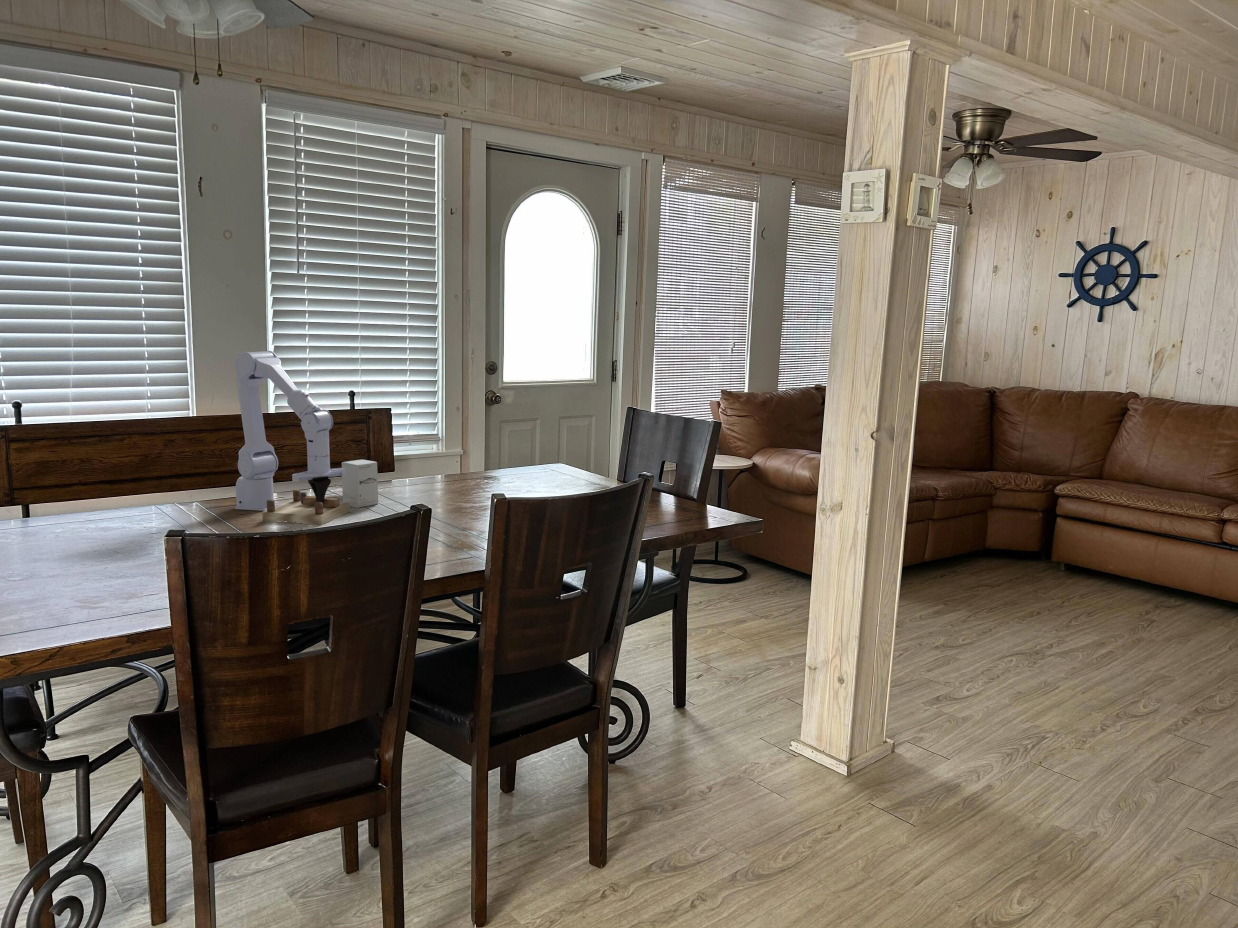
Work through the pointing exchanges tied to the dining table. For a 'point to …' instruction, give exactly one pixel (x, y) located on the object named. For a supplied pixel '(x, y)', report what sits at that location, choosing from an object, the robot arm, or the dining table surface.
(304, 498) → the leg
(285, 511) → the wooden peg board
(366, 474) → the supplement box
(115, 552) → the dining table surface
